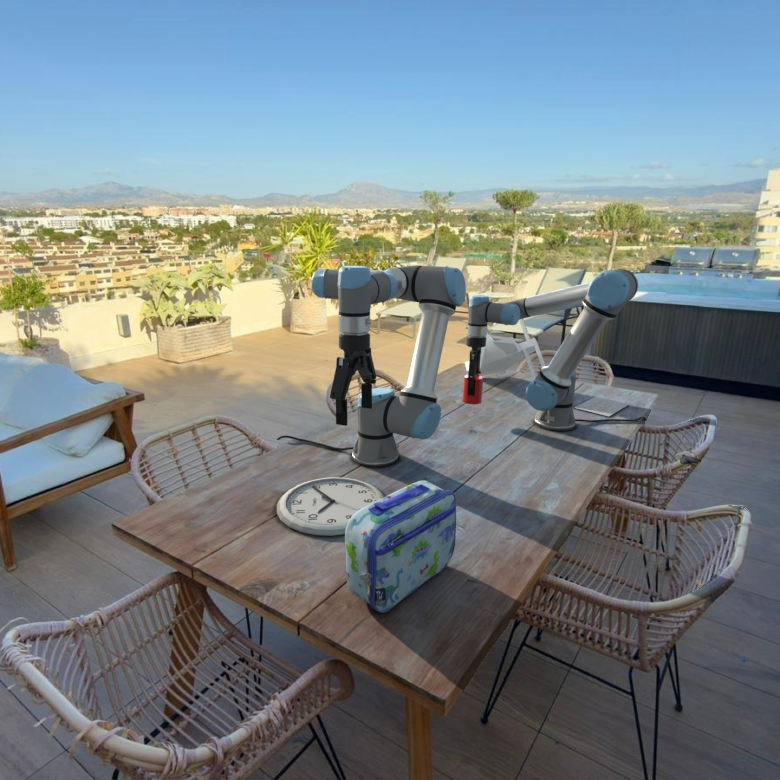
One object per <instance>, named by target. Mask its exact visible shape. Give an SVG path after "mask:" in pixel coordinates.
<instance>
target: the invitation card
mask: <svg viewBox="0 0 780 780" xmlns="http://www.w3.org/2000/svg"><path fill="white" fill-rule="evenodd" d="M628 406H629V404H627V403H623V402H618V401H614V400H609V399H605V398H601V397H596V396H593V397H592V398H590V399H588V400H586V401H584V402H582V403H580V404H578V405H575V406H574V407H573V409H575V410H581V411H584V412H587V413H593V414H596V415H600V416H604V417H608V418H609V417H611V416H613V415H614V414H616V413H617V412H619V411H621V410H623V409H624V408H626V407H628Z"/></svg>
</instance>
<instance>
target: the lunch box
mask: <svg viewBox="0 0 780 780" xmlns="http://www.w3.org/2000/svg"><path fill="white" fill-rule="evenodd" d="M456 531H457V499H456V495H455V493H454V492H453V490H450V489H442V488H440V487H439V486H437V485H435V484H433V483H432V482H430V481H428V480H418V481H416V482H413V483H410V484H409V485H406V486H405V487H402V488H400V489H398V490H396V491H394V492H392V493H390V494H388V495H385V497H384V498H382V499H380V500H378V501H376V502H374V503H372V504H370V505H368V506H366V507H364V508H362V509H360V510H358V511H357V512H355V513H354V514H353V515H352V517H351V518H350V520H349V522H348V524H347V527H346V531H345V534H344V552H345V577H346V578H345V580H346V586H347V589H348V592H349V593H350V594H352V595H354V596H356V597H357V598H359V599H361V600H363V602H365V603H367V604H368V605H370V607H371V608H372V609H373V610H375V611H376V612H378V613H380V614H382V613H383V614H385V613H387V612H389V611H391V609H393V608H394V607H395V606H396V605H397V604H400V602H401V601H402V600H404V599H406V597H409V596H410V595H411V594H412V593H414V592H415V591H416V590H417V589H418V588H420V587H421V586H422V585H423V584H424V583H425V582H427V581H428V580H430V579H432V578H433V577H434V576H436V575H437V574H439V573H441V572H442V571H443V570H445V568H446V567H447V566H448V564H449V563H450V561H451V560H452V557H453V554H454V551H455V548H456V547H455V546H456Z"/></svg>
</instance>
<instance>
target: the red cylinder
mask: <svg viewBox="0 0 780 780" xmlns="http://www.w3.org/2000/svg"><path fill="white" fill-rule="evenodd" d="M472 377H473V376H472ZM467 378H468V374H465V375H464V376H463V390H462V402H463V403H464V404H467V405H480V404H481V403H483V402H482V401H483V387H484V375H482V376H481V375H476V377H475V378H476V379H475V380H476V384H475V396H470V395H468V379H467Z"/></svg>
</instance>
